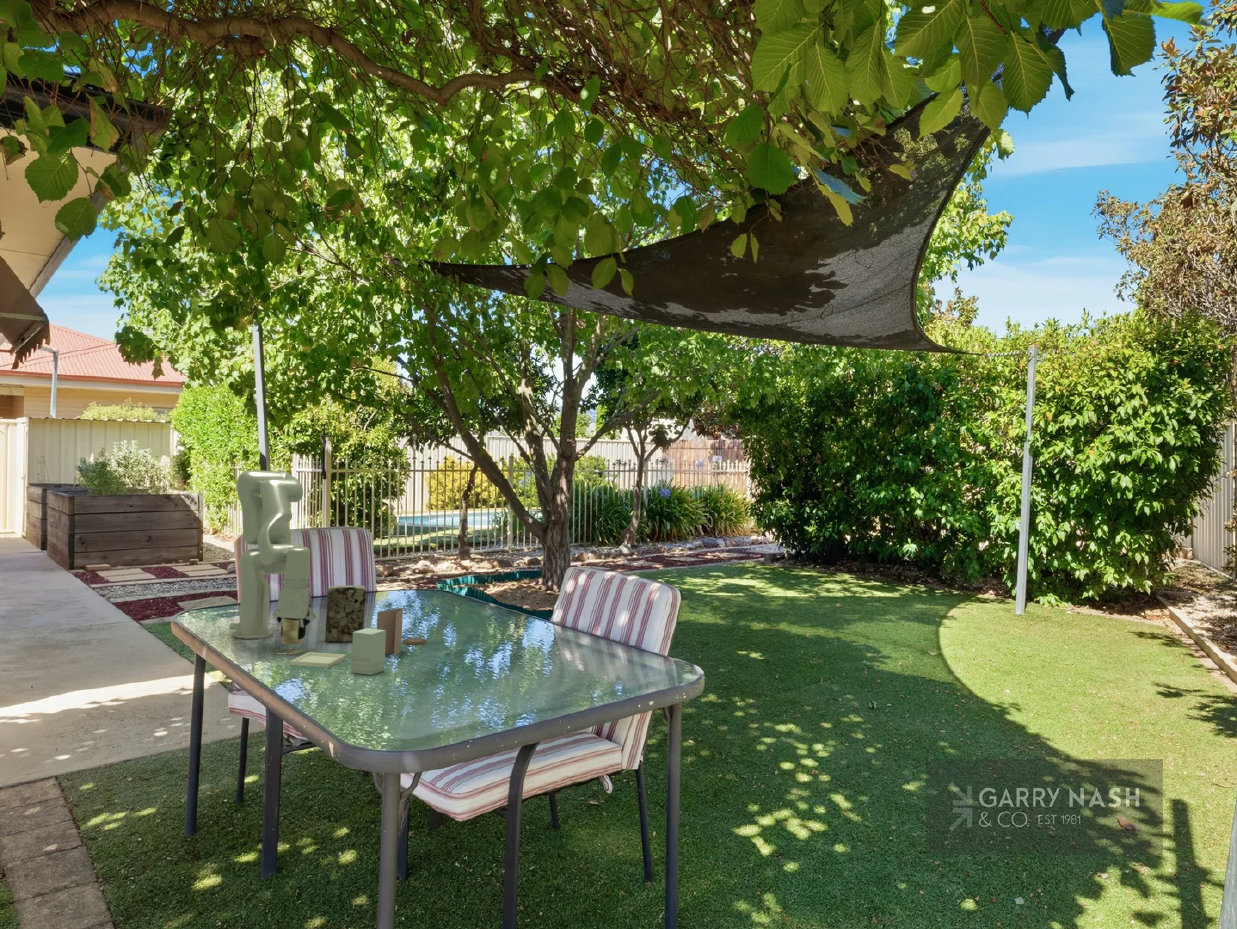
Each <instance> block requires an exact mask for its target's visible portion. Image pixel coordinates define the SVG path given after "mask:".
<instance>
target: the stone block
mask: <svg viewBox="0 0 1237 929" xmlns="http://www.w3.org/2000/svg"><path fill="white" fill-rule="evenodd" d="M326 596H327V598H326V610H325V612H326V613H325V635H324V642H325V643H328V644H329V643H330V644H332V643H333V644H334V643H335V644H336V643H350V642H351V643H353V632H355V631H359V630H362V629H365V628H364V627H365V626H364V624H365V612H366V602H367V588H366V587H365V586H364V585H352V584H351V585H331V586H330V587H328V589H327V595H326Z"/></svg>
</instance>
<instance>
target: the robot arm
mask: <svg viewBox="0 0 1237 929" xmlns="http://www.w3.org/2000/svg"><path fill="white" fill-rule="evenodd" d="M236 480H237V481H236V492H237V496H238V500H239V501H240V505H241V512H242V513H241V514H242V535H243V540H244V542H245V543H246V544H247V545H252V546H255V545H256V546H257V548H251V549H247V550H245V551H243V552H242V553H241V555H240V557H239V567H240V568H239V569H240V575H241V576H240V577H241V578H240V579H241V580H240V583H241V588H240V604H239V605H240V606H239V608H240V609H239V622H238V623H235V622H231V623H230V624H229V630H235V632H234V634H233V637H234V636H235V637H234V638H236V637H237V639H241V638H243V639H245V640H255V639H256V640H257V639H265V638H269V637H271V636H272V635H273V631H272V630H269V615H270V592H271V587H270V586H271V585H270V584H269V581H267V579H266V578H265V575H280V574H284V578H282V579H280V583H281V584H282V585H283V586H282V587H281V588H280V591H279V596H278V600H277V606H276V609H275V610H274V612H273V613H272V614H271V615H272V617H273V618H275V619H276V620H277V622H278V623H279V625H280V626H281V627H280V628H281V629H280V635H281V636H282V631H283V619H286V618H291V619H299V622H300V627H299V631H298V639H302V638H303V639H304V638H305V636H306V629H307V626H308V625H309V624H310V623H311V622H312V621H314V620H315V619H316V618H317V616H316V614H315V613H314V612H313V609H312V593H311V588H310V587H309V582H310V581H309V578H310V566H311V565H310V563H311V549H310V548H309V547H306V546H303V545H302V544H300V543H292V540H291V530H290V526H289V523H290V521H291V520H292V519H293V514H292V509H291V505H290V503H299V502H300V501H302V498H303V495H304V489H303V485H302V484H301V482H300V480H298V479H297V478H296V477H295V476H293V475H291V474H290V473H289V472H286V471H282V470H281V471H280V470H278V471H277V470H257V469H256V470H254V469H253V470H246V471H243V472H242V473H240V474H239V475H238V477H237V479H236ZM243 639H242V640H243Z"/></svg>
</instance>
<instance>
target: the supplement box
mask: <svg viewBox="0 0 1237 929" xmlns="http://www.w3.org/2000/svg"><path fill="white" fill-rule="evenodd" d="M385 641H386V630H378V629H377V628H370V627H367V628H364V629H362V630H359V631H355V632H353V642H351V643H352V645H351V646H352V648H351V668H350V669H351V671H350V673H352V674H361V675H367V676H373V675H375V674H378V673H381V672H384V671H385V664H386V663H385V662H386V661H385V659H386V655H385Z"/></svg>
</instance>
